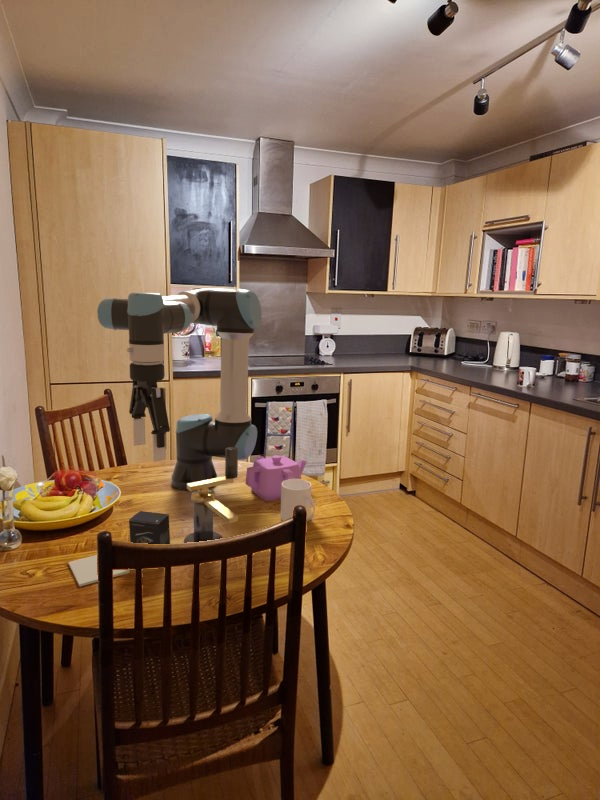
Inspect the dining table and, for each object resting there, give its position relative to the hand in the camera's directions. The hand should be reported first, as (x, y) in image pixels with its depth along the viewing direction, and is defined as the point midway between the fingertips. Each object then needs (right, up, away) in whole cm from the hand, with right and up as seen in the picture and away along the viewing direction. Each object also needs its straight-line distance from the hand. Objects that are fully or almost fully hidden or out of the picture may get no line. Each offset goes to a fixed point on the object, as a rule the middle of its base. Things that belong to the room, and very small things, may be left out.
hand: (149, 452), depth 121 cm
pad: (-12, -27, 0) cm, 30 cm away
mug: (+35, -23, +28) cm, 51 cm away
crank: (+17, -14, +7) cm, 23 cm away
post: (+10, -25, +14) cm, 30 cm away
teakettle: (+27, -18, +49) cm, 59 cm away
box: (-1, -26, +6) cm, 27 cm away
